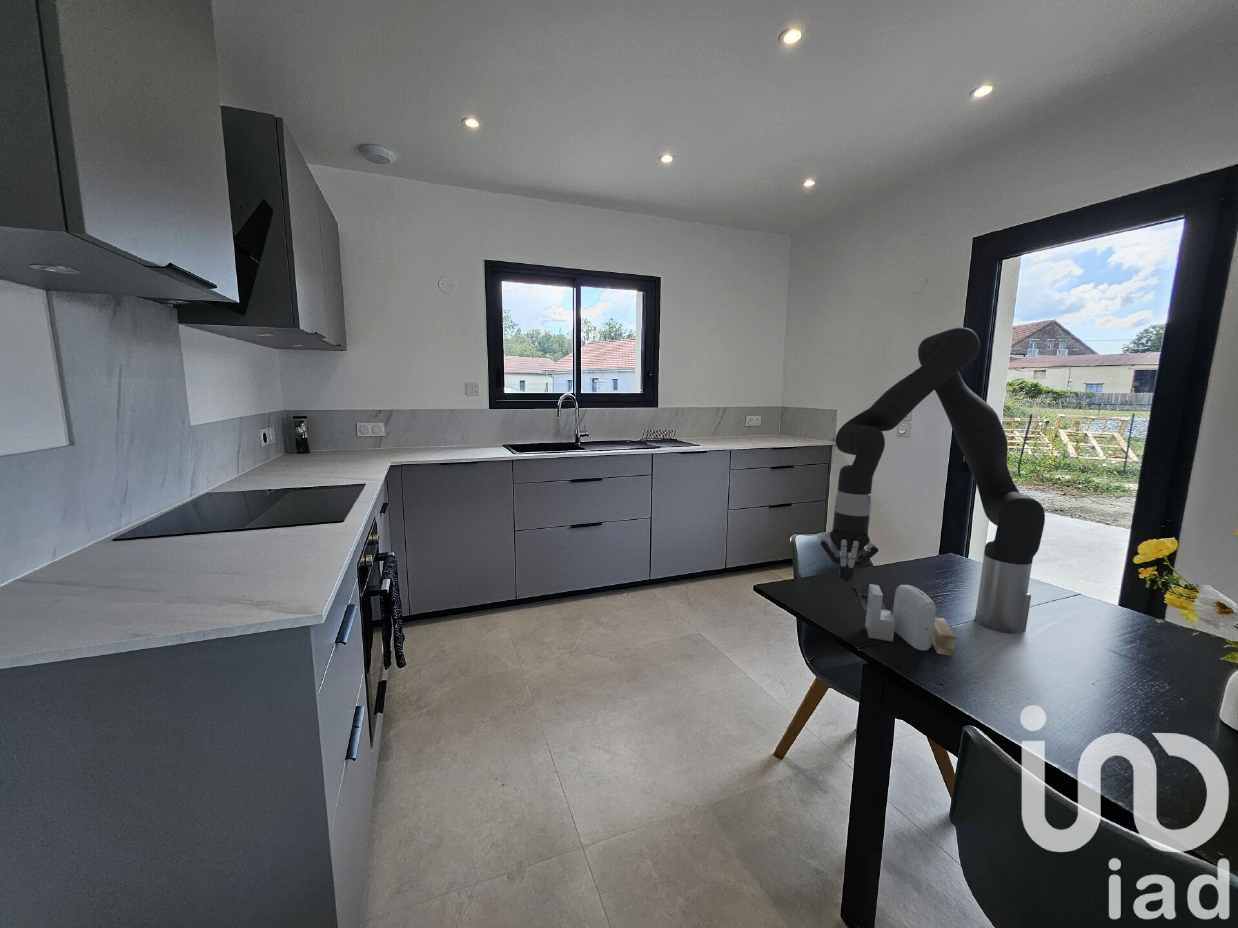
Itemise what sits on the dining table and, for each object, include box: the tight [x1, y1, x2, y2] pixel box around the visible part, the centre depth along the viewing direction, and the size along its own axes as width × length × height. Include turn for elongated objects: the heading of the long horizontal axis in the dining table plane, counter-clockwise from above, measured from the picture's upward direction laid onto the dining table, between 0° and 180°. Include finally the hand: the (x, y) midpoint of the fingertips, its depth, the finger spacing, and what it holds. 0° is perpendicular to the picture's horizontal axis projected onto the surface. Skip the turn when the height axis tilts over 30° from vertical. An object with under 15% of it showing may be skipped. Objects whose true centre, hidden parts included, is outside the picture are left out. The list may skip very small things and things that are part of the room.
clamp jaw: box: [864, 583, 895, 643], centre depth 114 cm, size 5×6×11 cm
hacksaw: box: [853, 584, 888, 611], centre depth 129 cm, size 24×10×2 cm, turn 164°
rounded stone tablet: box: [892, 584, 937, 651], centre depth 112 cm, size 10×4×12 cm, turn 3°
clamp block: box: [931, 616, 957, 657], centre depth 110 cm, size 3×9×4 cm, turn 160°
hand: (844, 580), depth 116 cm, fingers closed
